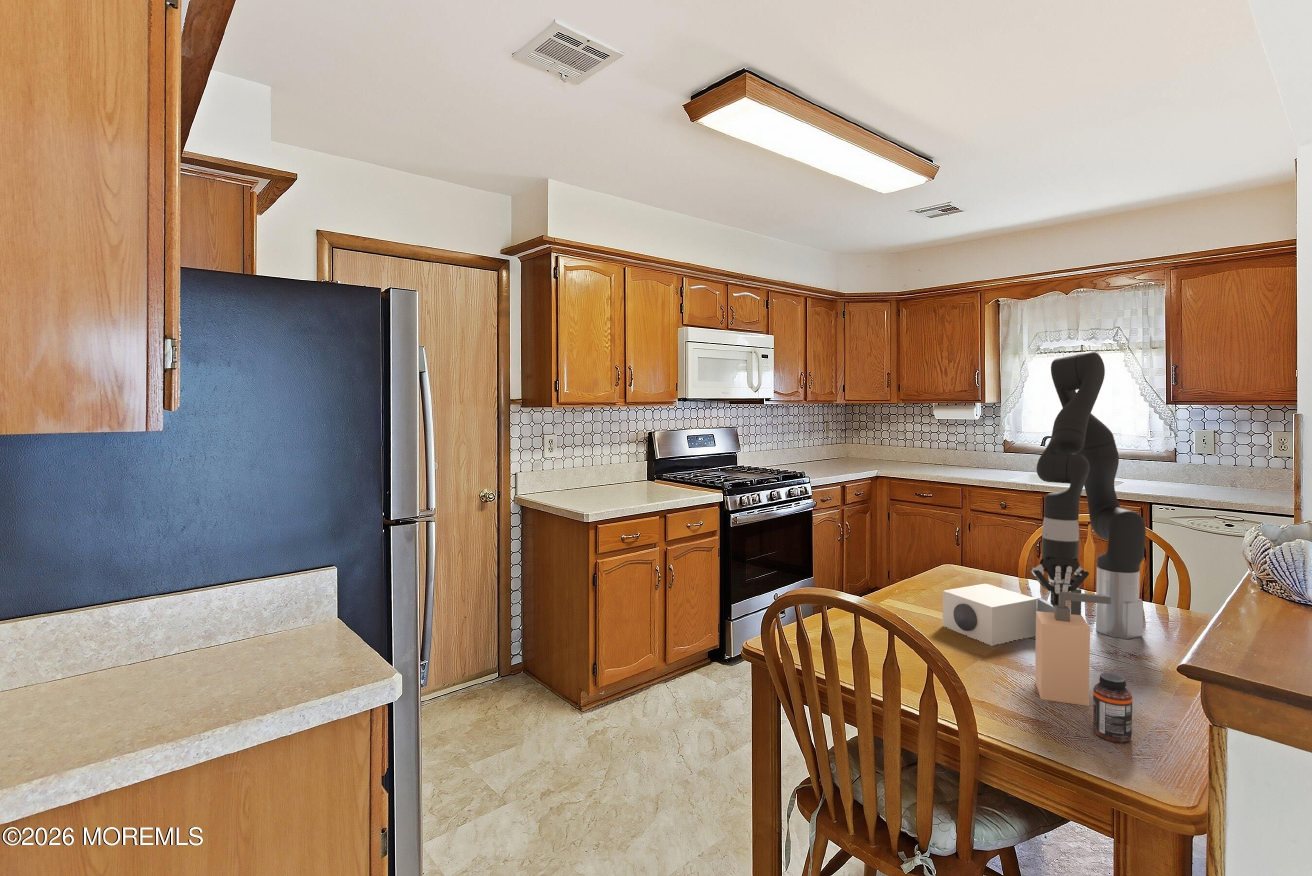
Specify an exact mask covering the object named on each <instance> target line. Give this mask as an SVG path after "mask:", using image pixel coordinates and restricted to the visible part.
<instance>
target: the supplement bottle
mask: <svg viewBox="0 0 1312 876" xmlns="http://www.w3.org/2000/svg"><path fill="white" fill-rule="evenodd" d="M1092 693H1093V695H1092V697H1093V699H1092V700H1093V701H1092V702H1093V703H1092V707H1093V708H1092V729H1093V732H1094V734H1095V735H1097V736H1099V737H1100V738H1101V739H1103V740H1105V741H1109V742H1113V743H1119V744H1121V743H1127V742H1130V741H1131V740H1132V734H1133V694H1132V692H1131V690H1129V689H1128V688H1127V680H1126V678H1125V676H1123V675H1120V674H1117V673H1112V672H1101V673H1100V674H1099V682H1098V683H1096V684H1095V685H1094V686H1093V689H1092Z"/></svg>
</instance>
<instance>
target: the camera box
mask: <svg viewBox="0 0 1312 876" xmlns="http://www.w3.org/2000/svg"><path fill="white" fill-rule="evenodd" d="M1036 611H1037V598H1035V597H1032V596H1028V595H1026V594H1022V593H1019V592H1015V591H1012V590H1009V589H1005V588H1002V587H1000V586H999V587H998V586H995V585H992V584H989V583H987V582H986V583H981V584H975V585H970V586H969V585H968V586H963V587H956V588H951V589H945V590H942V627H943V628H946V627H947V628H946V629H948V630H951V631H954V632H956V633H959V634H962V635H964V636H966V635H967V636H966V637H968V638H970V639H974V640H976V639H977V641H978V640H979V642H981V643H983V642H984V644H986V645H988V646H991V647H993V646H996V645H997V644H998V645H1002V644H1006V643H1005V642H1007V643H1010V642H1009V641H1012V642H1014V641H1013V640H1016V641H1019V640H1018V639H1021V640H1024V639H1023V638H1025V639H1029V637H1030V638H1033V637H1032V636H1035V637H1036ZM1001 643H1002V644H1001ZM998 645H997V646H998Z"/></svg>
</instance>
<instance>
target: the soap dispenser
mask: <svg viewBox="0 0 1312 876" xmlns="http://www.w3.org/2000/svg"><path fill="white" fill-rule="evenodd" d="M1066 601H1069V602H1071V601H1078V602H1081V603H1092V604H1096V603H1101V604H1111V597H1110V596H1108V595H1096V594H1095V593H1082V592H1081V593H1071V591H1069V592H1059V605H1054V613H1051V612H1040V611H1036V636H1035V671H1034V672H1035V673H1034V674H1035V675H1034V676H1035V681H1034V682H1035V686H1036V690H1037V693H1038V694H1039V698H1040V700H1041V701H1042V700H1043V701H1048V702H1049V701H1050V702H1056V703H1057V702H1058V703H1063V704H1064V703H1065V704H1071V705H1078V706H1079V705H1080V706H1084V707H1085V706H1087V707H1089V706H1090V669H1091V666H1090V665H1091V663H1090V660H1091V659H1090V658H1091V628H1090V626H1089V624H1088V623H1087V621H1086V620H1085V619H1084V617H1083V614H1081V615H1072V614H1071V608H1069V606H1067V603H1066Z"/></svg>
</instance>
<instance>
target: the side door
mask: <svg viewBox="0 0 1312 876" xmlns="http://www.w3.org/2000/svg"><path fill="white" fill-rule="evenodd" d="M1070 592H1071V593H1082V589H1081V588H1079V587H1078V588H1077V589H1076V590H1075V591H1070ZM1036 599H1037V611H1040V612H1051V613H1054V607H1053V605H1051V603H1050V601H1047V600H1045V599H1043V598H1041V597H1040V598H1039V597H1038V598H1036ZM1070 614H1072V615H1082V602H1078V601H1070Z"/></svg>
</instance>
